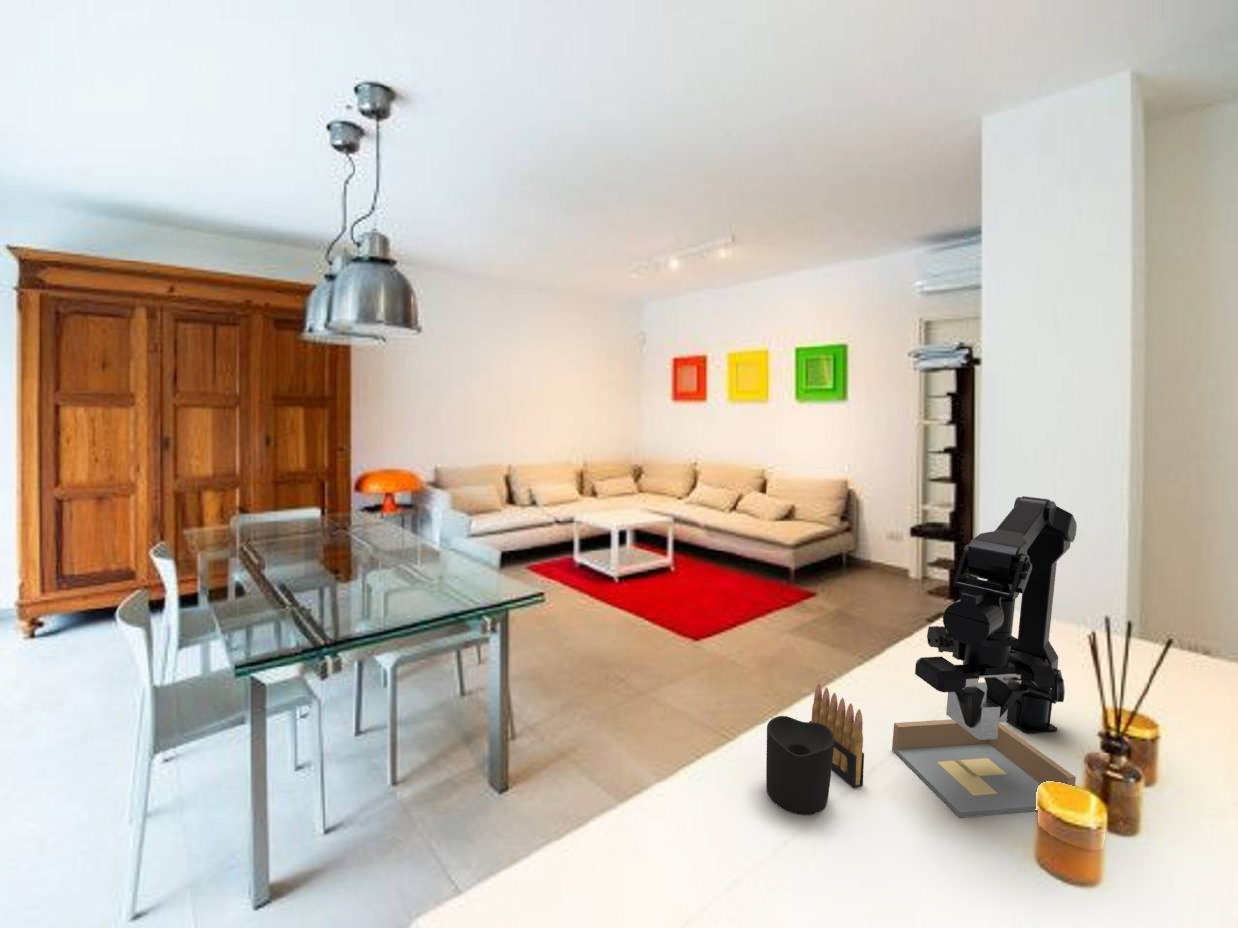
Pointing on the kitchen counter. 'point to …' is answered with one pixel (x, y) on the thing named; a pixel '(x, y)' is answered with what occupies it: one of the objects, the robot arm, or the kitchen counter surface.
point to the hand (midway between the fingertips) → (979, 725)
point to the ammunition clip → (841, 735)
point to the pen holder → (799, 764)
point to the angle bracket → (986, 717)
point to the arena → (976, 767)
